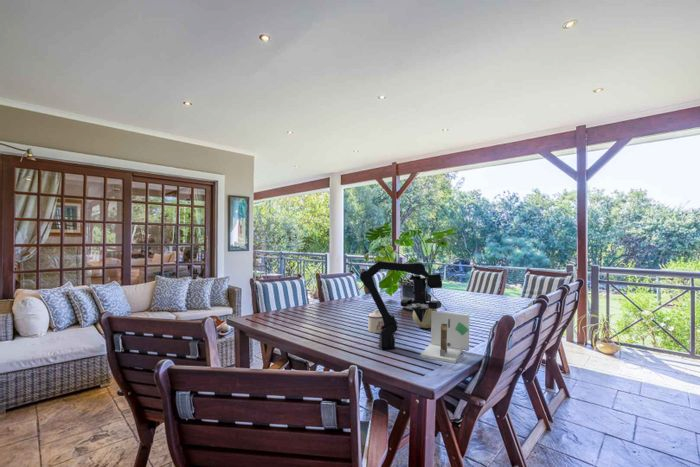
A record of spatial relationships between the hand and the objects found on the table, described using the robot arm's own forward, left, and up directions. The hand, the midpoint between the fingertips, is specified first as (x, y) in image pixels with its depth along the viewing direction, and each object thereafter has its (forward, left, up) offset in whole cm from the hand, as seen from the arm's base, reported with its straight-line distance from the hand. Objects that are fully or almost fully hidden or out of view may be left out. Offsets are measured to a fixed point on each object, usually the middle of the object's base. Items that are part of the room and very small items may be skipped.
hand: (421, 321), depth 164 cm
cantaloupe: (+21, +36, -13) cm, 43 cm away
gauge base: (+8, -9, -13) cm, 18 cm away
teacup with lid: (-9, +36, -13) cm, 39 cm away
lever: (+5, -12, -10) cm, 17 cm away
